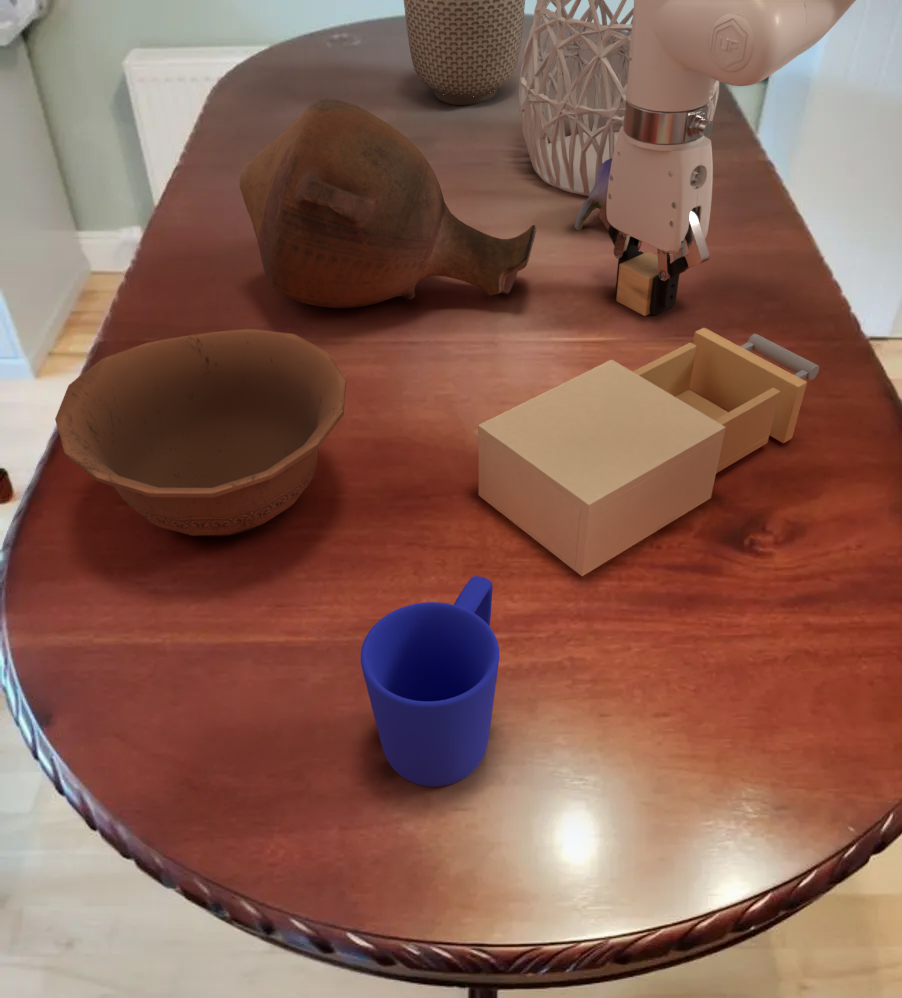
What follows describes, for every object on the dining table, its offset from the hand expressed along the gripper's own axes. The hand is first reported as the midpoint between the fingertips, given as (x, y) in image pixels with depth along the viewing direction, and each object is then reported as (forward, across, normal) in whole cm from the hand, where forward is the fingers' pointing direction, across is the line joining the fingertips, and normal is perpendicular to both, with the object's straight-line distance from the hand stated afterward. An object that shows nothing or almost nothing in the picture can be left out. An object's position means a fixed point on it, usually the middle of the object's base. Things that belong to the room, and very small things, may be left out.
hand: (644, 299), depth 105 cm
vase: (+1, +27, -22) cm, 35 cm away
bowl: (+1, -1, +50) cm, 50 cm away
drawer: (0, -20, +12) cm, 23 cm away
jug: (+1, +18, +19) cm, 27 cm away
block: (0, 0, 0) cm, 0 cm away
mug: (+1, -31, +50) cm, 59 cm away
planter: (0, +60, -24) cm, 65 cm away
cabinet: (+1, -20, +26) cm, 33 cm away
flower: (+1, +14, -10) cm, 17 cm away
